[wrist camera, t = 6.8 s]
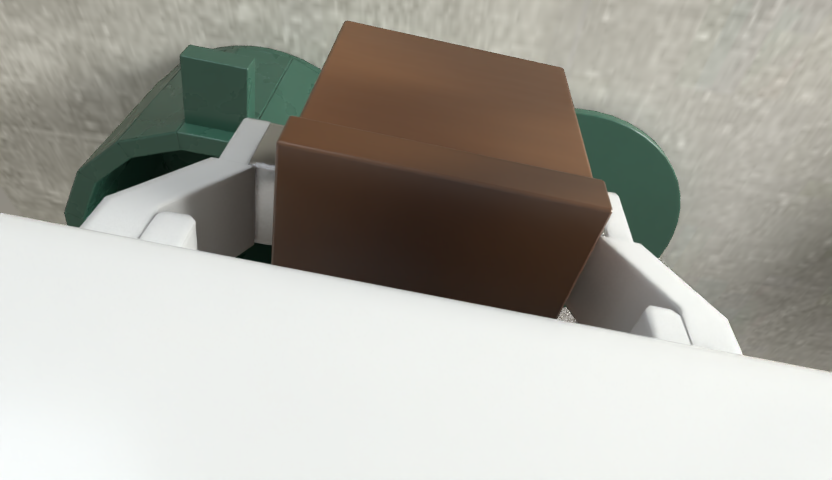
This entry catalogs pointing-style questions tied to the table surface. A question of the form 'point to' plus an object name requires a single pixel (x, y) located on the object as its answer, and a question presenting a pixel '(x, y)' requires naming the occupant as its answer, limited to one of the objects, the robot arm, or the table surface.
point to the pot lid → (633, 176)
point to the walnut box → (438, 174)
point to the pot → (193, 121)
